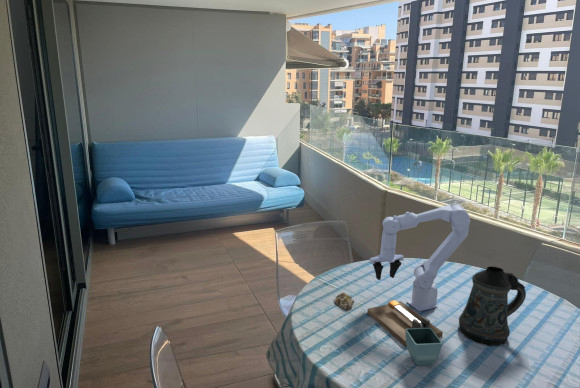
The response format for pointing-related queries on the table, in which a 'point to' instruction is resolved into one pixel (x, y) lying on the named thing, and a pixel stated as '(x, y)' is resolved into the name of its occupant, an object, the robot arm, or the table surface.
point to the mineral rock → (344, 301)
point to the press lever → (403, 312)
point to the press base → (399, 321)
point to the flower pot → (423, 345)
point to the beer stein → (490, 306)
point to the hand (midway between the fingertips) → (385, 278)
